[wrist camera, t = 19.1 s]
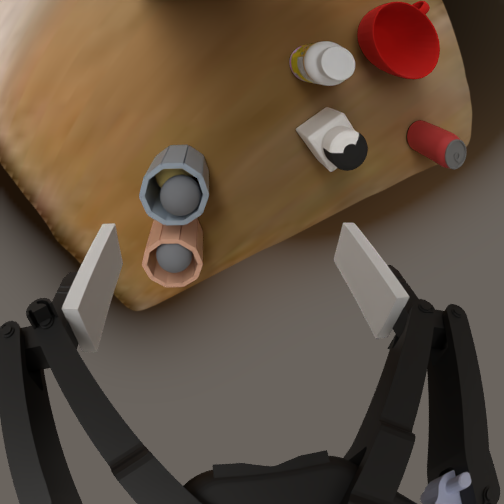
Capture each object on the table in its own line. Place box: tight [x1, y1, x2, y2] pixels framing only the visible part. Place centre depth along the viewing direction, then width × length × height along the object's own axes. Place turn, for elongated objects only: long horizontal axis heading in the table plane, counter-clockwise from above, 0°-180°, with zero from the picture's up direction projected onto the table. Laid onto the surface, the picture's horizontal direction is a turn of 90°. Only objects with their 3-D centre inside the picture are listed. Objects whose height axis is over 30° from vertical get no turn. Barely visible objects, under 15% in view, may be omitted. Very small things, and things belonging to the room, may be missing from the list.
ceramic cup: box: [357, 1, 440, 79], centre depth 33 cm, size 13×17×10 cm
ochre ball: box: [155, 168, 192, 188], centre depth 46 cm, size 6×6×6 cm
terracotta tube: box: [142, 218, 203, 287], centre depth 51 cm, size 10×10×10 cm
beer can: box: [407, 120, 466, 169], centre depth 44 cm, size 7×7×12 cm
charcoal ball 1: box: [160, 175, 201, 216], centre depth 42 cm, size 6×6×6 cm
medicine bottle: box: [296, 107, 368, 172], centre depth 43 cm, size 7×7×12 cm
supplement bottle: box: [289, 41, 355, 86], centre depth 35 cm, size 7×7×13 cm
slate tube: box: [139, 145, 209, 225], centre depth 44 cm, size 10×10×10 cm
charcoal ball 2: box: [156, 244, 192, 273], centre depth 48 cm, size 6×6×6 cm
